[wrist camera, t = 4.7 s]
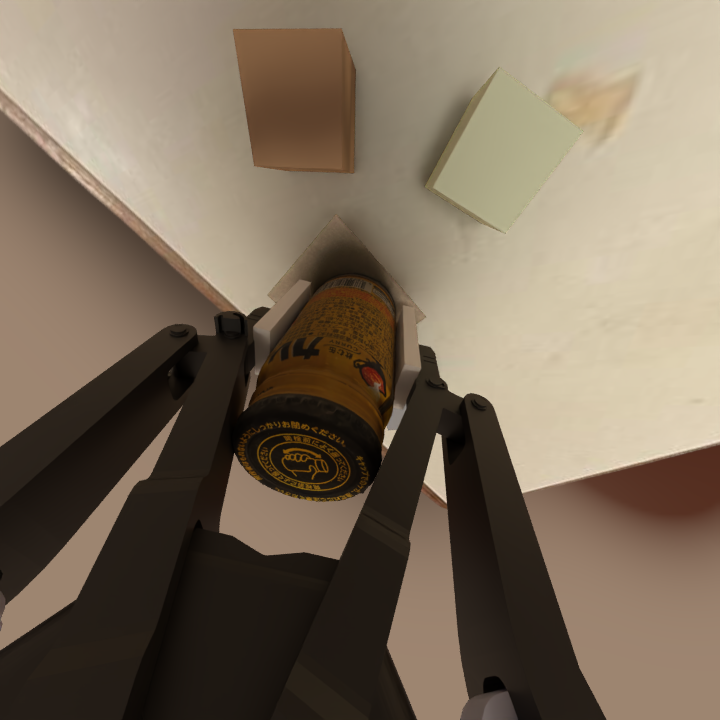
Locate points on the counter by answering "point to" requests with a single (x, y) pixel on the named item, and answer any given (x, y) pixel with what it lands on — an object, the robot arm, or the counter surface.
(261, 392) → the condiment
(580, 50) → the counter surface
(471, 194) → the sage cube
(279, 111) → the walnut cube
